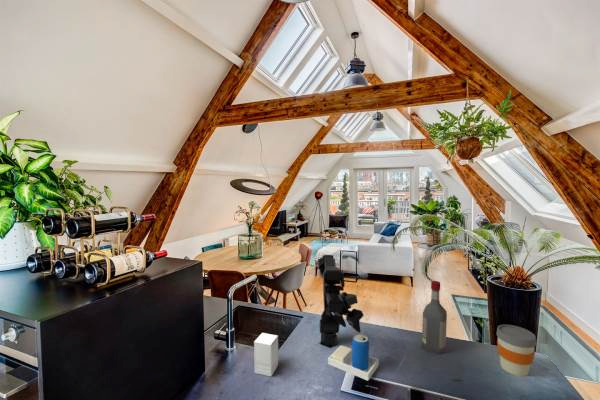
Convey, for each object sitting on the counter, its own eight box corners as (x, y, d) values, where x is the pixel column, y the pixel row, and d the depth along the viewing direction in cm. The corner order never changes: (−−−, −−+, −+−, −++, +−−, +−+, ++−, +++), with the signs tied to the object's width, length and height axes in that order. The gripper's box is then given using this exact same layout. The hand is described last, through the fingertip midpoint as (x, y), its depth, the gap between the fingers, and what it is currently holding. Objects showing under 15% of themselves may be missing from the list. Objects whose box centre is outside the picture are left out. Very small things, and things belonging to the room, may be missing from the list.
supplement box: (278, 365, 114) (278, 335, 114) (271, 377, 107) (271, 345, 107) (262, 361, 117) (262, 332, 116) (253, 373, 110) (253, 341, 109)
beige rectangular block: (332, 363, 115) (332, 354, 115) (341, 353, 122) (341, 345, 122) (343, 367, 112) (343, 359, 112) (352, 357, 119) (352, 349, 119)
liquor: (446, 345, 129) (448, 281, 127) (444, 356, 121) (446, 287, 119) (424, 339, 134) (426, 277, 132) (421, 349, 126) (422, 283, 124)
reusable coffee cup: (541, 382, 105) (543, 343, 104) (501, 375, 109) (503, 337, 108) (526, 362, 117) (527, 327, 116) (490, 356, 121) (492, 322, 120)
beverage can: (368, 373, 109) (369, 343, 108) (351, 371, 110) (352, 341, 110) (368, 363, 115) (368, 334, 115) (352, 361, 117) (352, 332, 116)
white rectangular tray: (328, 365, 115) (328, 357, 115) (340, 352, 124) (340, 345, 124) (368, 382, 105) (368, 374, 105) (378, 366, 114) (378, 359, 114)
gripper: (363, 289, 113) (380, 321, 115) (335, 283, 129) (350, 312, 131) (344, 307, 107) (362, 341, 109) (317, 299, 123) (334, 328, 125)
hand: (352, 329), depth 119 cm, fingers open, 9 cm apart
